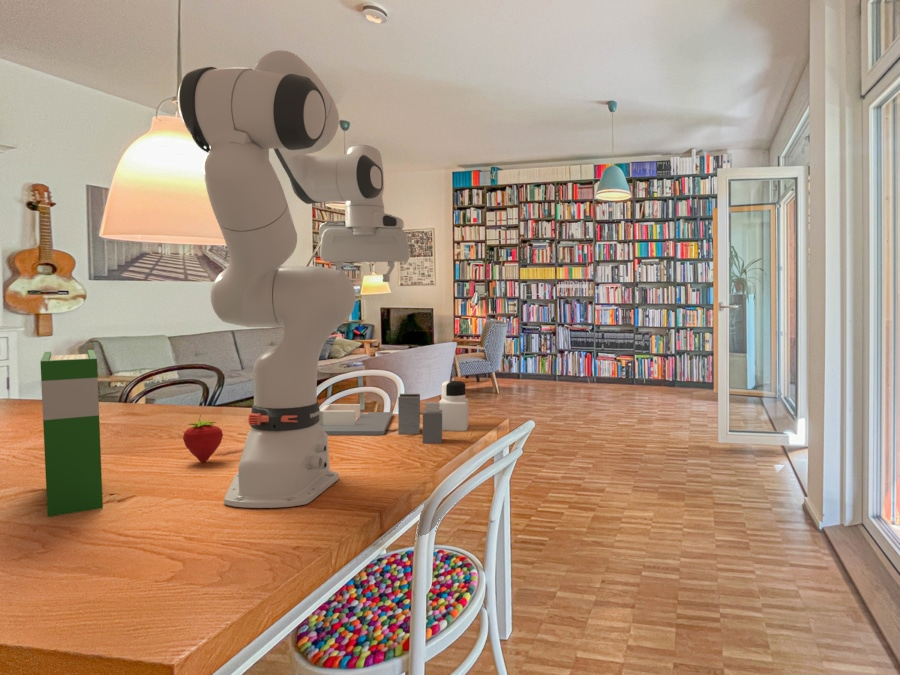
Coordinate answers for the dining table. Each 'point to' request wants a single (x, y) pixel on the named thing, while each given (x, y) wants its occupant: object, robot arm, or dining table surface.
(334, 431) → the end holder
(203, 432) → the strawberry
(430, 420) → the connector plug
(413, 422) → the dark grey upright block
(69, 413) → the hardback book
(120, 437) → the dining table surface
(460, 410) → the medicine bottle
